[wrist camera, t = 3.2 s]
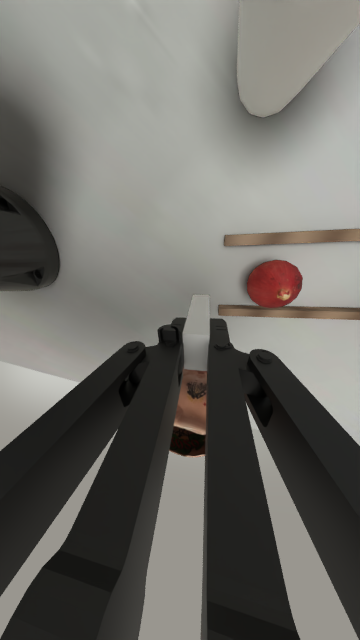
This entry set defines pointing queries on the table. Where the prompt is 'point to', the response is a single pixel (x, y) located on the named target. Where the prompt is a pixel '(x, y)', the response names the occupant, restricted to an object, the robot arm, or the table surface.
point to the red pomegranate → (274, 284)
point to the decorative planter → (190, 416)
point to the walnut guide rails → (289, 310)
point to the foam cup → (287, 47)
